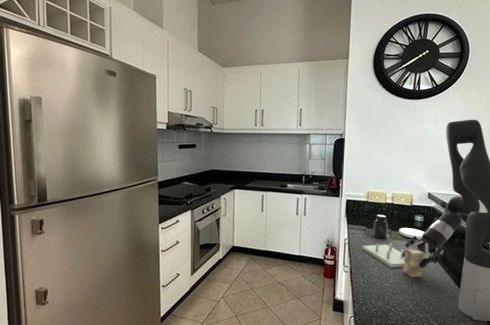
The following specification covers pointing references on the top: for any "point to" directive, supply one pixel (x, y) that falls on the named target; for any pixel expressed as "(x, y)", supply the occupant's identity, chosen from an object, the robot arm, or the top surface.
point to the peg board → (386, 254)
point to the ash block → (413, 262)
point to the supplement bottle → (380, 227)
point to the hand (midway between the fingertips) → (412, 261)
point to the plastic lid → (411, 232)
